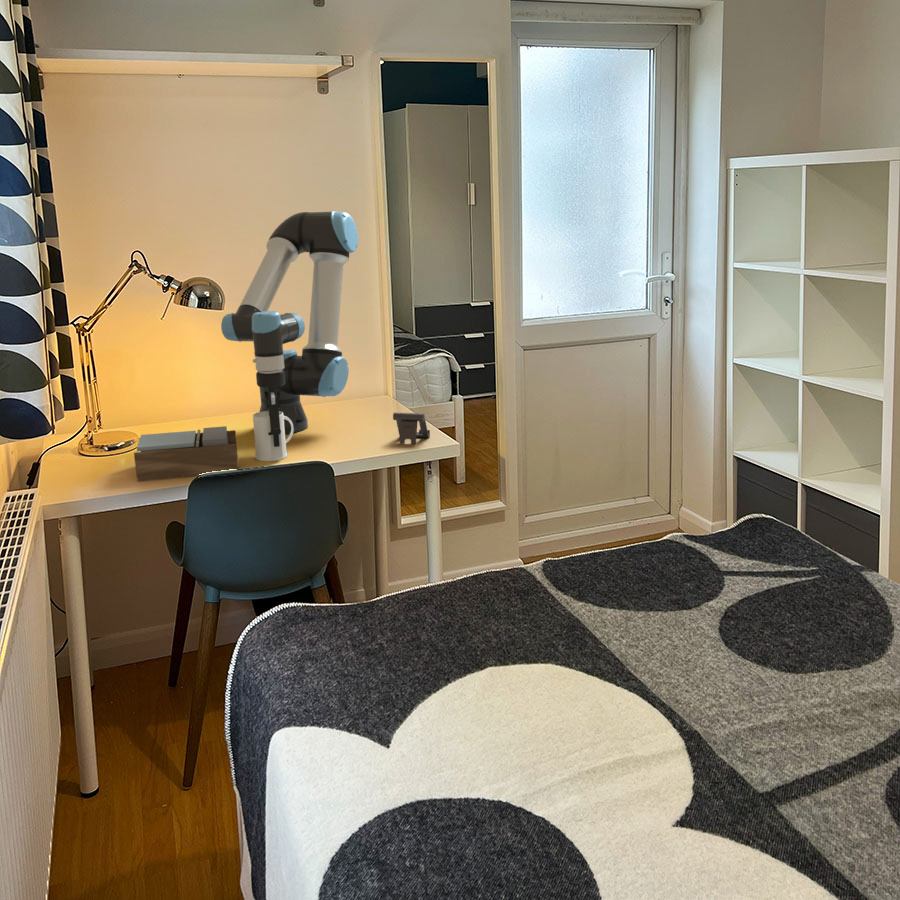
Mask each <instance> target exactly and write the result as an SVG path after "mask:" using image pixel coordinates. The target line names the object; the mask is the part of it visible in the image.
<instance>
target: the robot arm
mask: <svg viewBox="0 0 900 900" xmlns="http://www.w3.org/2000/svg"><path fill="white" fill-rule="evenodd" d="M358 243H359V234H358V229H357V225H356V223H355V221H354V218H353V217H352V216H351V215H350V214H349V213H347V212H345V211H335V210H333V211H314V212H310V211H309V212H308V211H301V212H298V213H294V214H292V215H291V216H290V215H289V217H287V218H286V219H285V220H283V221H282V222H281V223H280V224H278V226H277V227H276V228H275V229H274V230H273V232H272V233H271V234H270V236H269V238H268V241H267V242H266V252H265V254H264V256H263V258H262V259H261V260H262V261H261V262H260V265H259V266H258V268H257V270H256V272H255V275H254V277H253V278H252V280H251V283H250V284H249V286H248V289H247V291H246V292H245V295H244V296H243V299H242V300H241V303H240V305H238V308H237V310H236V311H235V313H234V312H231V313H226V315H224V316H223V317H222V319H221V323H220V324H221V326H220V327H221V328H220V329H221V333H222V335H223V337H224V338H225V339H226V340H228V341H230V342H232V341H233V342H239V343H241V342H253V350H254V351H253V354H254V358H253V359H252V363H254V364H255V370H256V371H257V372H256V373H255V375H256V377H255V378H256V385H257V386H258V387H259V396H260V408H259V411H258V412H262V411H269V416H270V427H271V432H269V433H268V435H271V447H272V458H283V454H282V441H281V430H280V419H279V411H280V412H283V415H284V416H286V417H288V418H289V419H290V420H291V421H292V423H293V428H294V431H293V433H297V432H300V431H303V430H306V429H308V427H309V422H308V421H309V420H308V417H307V415H306V413H305V410H304V407H303V405H302V402H301V396H307V397H309V396H310V397H323V398H326V397H336V396H338V395H340V394H341V393H342V392H343V390H345V387H346V385H347V382H348V380H349V379H348V378H349V373H350V372H349V369H350V368H349V363H348V360H347V359H346V358H345V357H344V356H343V351H342V349H340V347H339V346H338V344H339V343H338V342H339V328H340V315H341V314H340V313H341V301H342V289H343V287H342V286H343V275H344V273H343V272H344V265H345V264H346V263H347V262H349V261H350V254H352V253H355V251H356V250H357V248H358V245H359V244H358ZM303 253H309V255H308V257H309V258H310V259H311V260H312V262H313V271H312V283H311V284H312V287H311V296H310V297H311V300H310V313H309V326H308V339H307V340H308V341H307V344H306V345H305V346H304V347H302V351H301V355H298V352H297V350H296V349H284V347H283V345H285V344H288V343H292V342H294V341H296V340H298V339H300V338H301V337H302V336H304V335H303V334H304V333H305V329H306V328H305V327H306V326H305V321H304V319H303V317H301V316H300V315H299V314H297V313H295V312H285V313H284V314H280V312H278V311H275V310H269V308H270V307H271V305H272V304H273V300H274V298H275V296H276V295H277V292H278V290H279V288H280V286H281V284H282V282H283V280H284V278H285V277H286V274H287V272H288V269H289V268H290V265H291V263H293V262H295V261H297V259H298V257H299V255H300V254H303ZM284 429H285V434H290V433H291V424H290V422H289V421H288V420H286V419H284Z"/></svg>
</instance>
